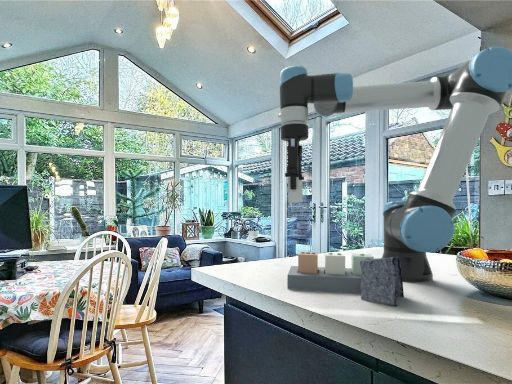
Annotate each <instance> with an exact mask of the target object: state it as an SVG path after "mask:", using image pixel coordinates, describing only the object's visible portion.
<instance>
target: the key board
mask: <svg viewBox="0 0 512 384" xmlns="http://www.w3.org/2000/svg"><path fill="white" fill-rule="evenodd" d="M286 275H287V279H286V281H287V283H286V284H287V290H301V291H303V290H304V291H320V292H321V291H323V292H325V291H326V292H338V293H339V292H341V293H342V292H343V293H359V294H360V293H362V290H361V275H353V274H352V267H351V268H349V267H347V268H346V267H345V275H340V274H325V266H324V267H322V266H318V274H317V273H298V265H291V266H290V268H289V270H288V273H287V274H286Z"/></svg>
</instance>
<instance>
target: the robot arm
mask: <svg viewBox="0 0 512 384" xmlns="http://www.w3.org/2000/svg"><path fill="white" fill-rule="evenodd" d="M279 75H280V76H279V103H280V104H279V106H280V107H279V108H280V113H279V114H278V118H280V125H281V127H280V139H281V140H282V141H283V142H284V141H285V142H287V146H286V151H287V155H286V156H287V168H286V169H287V170H286V172H284V175H285V176H284V177H285V178H287V189H288V191H287V193H288V195H287V196H288V204H294V203H295V204H298V203H303V181H304V180H305V176H303V174H302V173H303V169H302V168H303V167H302V161H303V145H301V144H300V142H301V141H306V140H308V139H309V125H308V123H309V106H308V105H309V104H313V108H314V111H315V113H316V114H317V115H319V116H320V117H322V118H323V117H324V118H326V117H327V118H328V117H330V116H333V115H334V114H343V113H344V114H345V113H356V112H357V113H359V112H372V111H373V112H374V111H387V110H389V111H390V110H403V109H404V110H405V109H406V110H407V109H417V108H418V109H419V108H428V109H429V110H431V111H440V110H441V111H442V110H443V111H444V110H447V111H448V110H450V112H449V115H448V116H447V120H446V121H445V124H444V126H443V129H442V131H441V134H440V136H439V138H438V140H437V143H436V146H435V148H434V150H433V153H432V154H431V157H430V160H429V162H428V164H427V166H426V169H425V170H424V174H423V175H422V178H421V181H420V182H419V186H418V187H417V189H415V190H413V191H411V192H409V193H408V195H407V198H406V200H396V201H395V200H394V201H389V202H387V203H385V204H384V205H383V212H382V215H383V253H382V257H381V258H390V257H400V258H399V259H400V263H401V271H402V282H407V283H425V282H432V283H434V279H433V277H434V276H433V275H434V274H433V270H432V268H431V266H430V262H429V259H428V256H427V253H435V252H438V251H440V250H442V249H444V248H445V247H447V246H448V245H449V244H450V242H451V241H452V239H453V237H454V235H455V223H454V222H453V221H454V220H453V218H454V215H455V213H456V210H457V208H456V205H455V204H454V202H453V200H454V198H455V196H456V193H457V191H458V189H459V186H460V183H461V182H462V179H463V178H464V177H463V176H464V175H465V172H466V171H467V167H468V165H469V164H470V160H471V158H472V155H473V153H474V151H475V149H476V146H477V145H478V142H479V139H480V137H481V135H482V132H483V129H484V128H485V126H486V123H487V121H488V119H489V116H490V115H491V114H494V113H496V112H498V111H499V110H500V107H501V105H502V103H503V101H504V99H505V96H506V94H507V92H509V91H510V90H512V50H510V49H508V48H506V47H502V46H490V47H486V48H483V49H482V50H481V51H478V52H476V53H475V54H474V55H472V56H471V58H470V59H469V60H467V61H466V62H465V63H464V64H463V65H461V66H460V67H458V69H457V70H455V71H453V72H451V73H449V74H445V75H441V76H433V77H432V78H430V80H425V81H411V82H410V81H409V82H400V83H397V82H396V83H386V84H385V83H382V84H374V85H373V84H371V85H361V86H354V81H353V76H352V75H351V74H350V73H346V72H345V73H344V72H342V73H341V72H336V73H335V72H334V73H323V74H308V70H307V68H305V67H304V66H297V65H291V66H290V65H289V66H287V67H285V68H283V69H282V70H281V72H280V74H279Z"/></svg>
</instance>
